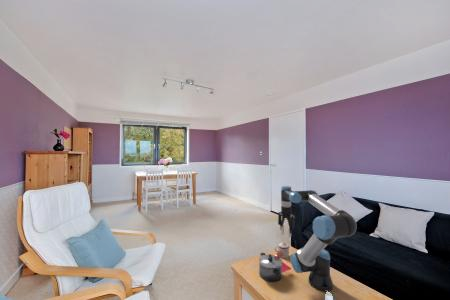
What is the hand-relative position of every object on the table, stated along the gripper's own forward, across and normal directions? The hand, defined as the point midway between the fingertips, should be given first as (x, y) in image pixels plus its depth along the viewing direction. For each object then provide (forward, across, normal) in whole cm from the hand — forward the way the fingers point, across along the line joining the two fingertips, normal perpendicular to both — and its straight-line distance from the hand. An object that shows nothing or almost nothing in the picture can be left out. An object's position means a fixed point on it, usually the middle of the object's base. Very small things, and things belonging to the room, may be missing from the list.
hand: (286, 235), depth 156 cm
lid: (+16, +3, +14) cm, 21 cm away
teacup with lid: (+25, +12, -13) cm, 31 cm away
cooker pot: (+25, +5, +16) cm, 30 cm away
